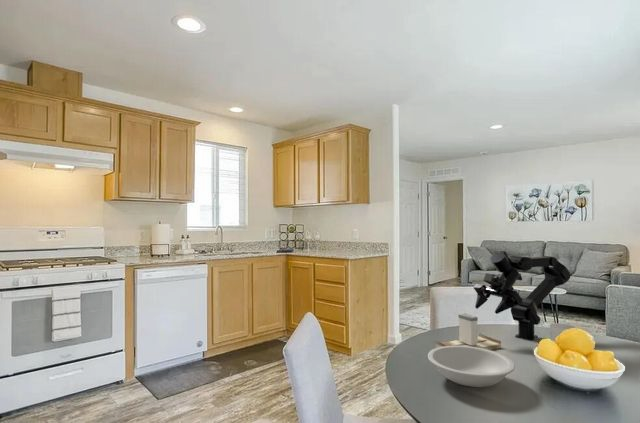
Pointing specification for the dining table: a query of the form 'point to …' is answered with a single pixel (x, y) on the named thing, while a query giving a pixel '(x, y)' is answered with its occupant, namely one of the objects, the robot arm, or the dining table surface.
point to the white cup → (558, 329)
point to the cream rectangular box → (468, 329)
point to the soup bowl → (471, 365)
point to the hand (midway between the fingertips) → (485, 310)
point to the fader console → (483, 343)
